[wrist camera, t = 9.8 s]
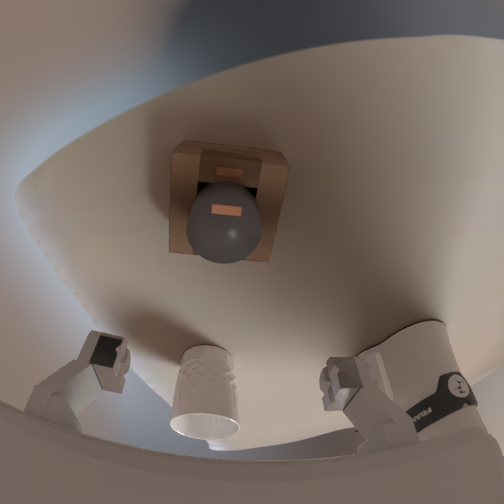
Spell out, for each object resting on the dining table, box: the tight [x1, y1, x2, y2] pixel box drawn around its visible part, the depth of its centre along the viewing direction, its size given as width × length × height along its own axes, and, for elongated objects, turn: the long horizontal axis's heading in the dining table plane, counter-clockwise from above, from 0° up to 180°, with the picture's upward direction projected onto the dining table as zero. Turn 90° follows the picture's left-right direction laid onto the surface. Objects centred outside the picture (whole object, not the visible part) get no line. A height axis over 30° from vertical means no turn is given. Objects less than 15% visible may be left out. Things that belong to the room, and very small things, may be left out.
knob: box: [186, 181, 261, 263], centre depth 22 cm, size 5×5×6 cm
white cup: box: [170, 345, 240, 440], centre depth 33 cm, size 8×8×10 cm
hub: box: [169, 141, 289, 262], centre depth 23 cm, size 8×8×4 cm
